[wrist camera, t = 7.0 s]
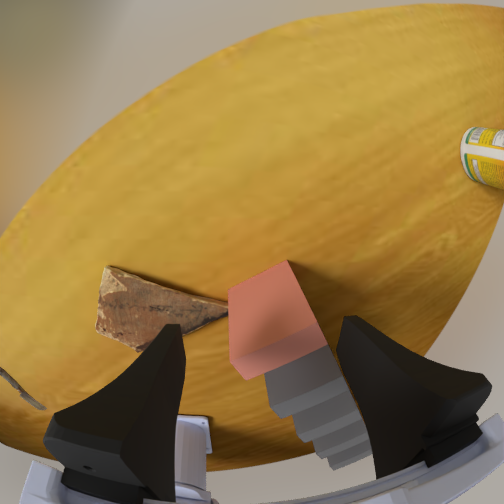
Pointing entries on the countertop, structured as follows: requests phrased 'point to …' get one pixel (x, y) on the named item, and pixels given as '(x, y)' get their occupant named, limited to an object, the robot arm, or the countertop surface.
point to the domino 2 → (326, 417)
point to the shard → (148, 309)
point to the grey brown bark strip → (21, 391)
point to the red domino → (270, 322)
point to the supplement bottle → (484, 155)
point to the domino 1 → (304, 382)
